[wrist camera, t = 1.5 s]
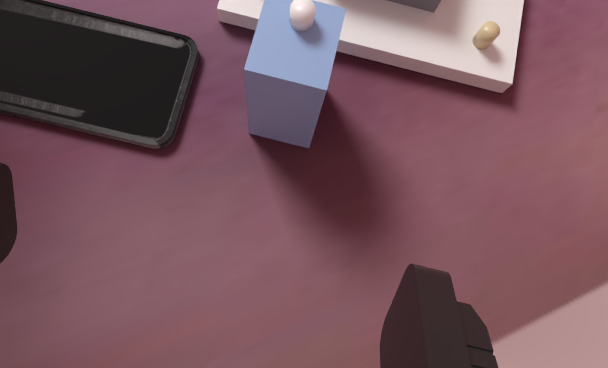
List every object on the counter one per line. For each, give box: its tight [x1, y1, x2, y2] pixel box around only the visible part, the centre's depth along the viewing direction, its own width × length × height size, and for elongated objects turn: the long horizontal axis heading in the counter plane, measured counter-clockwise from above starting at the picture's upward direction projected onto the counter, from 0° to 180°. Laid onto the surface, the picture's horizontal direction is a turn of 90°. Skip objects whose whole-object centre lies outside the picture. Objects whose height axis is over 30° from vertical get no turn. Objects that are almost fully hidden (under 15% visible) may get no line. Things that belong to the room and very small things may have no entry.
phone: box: [0, 0, 199, 149], centre depth 32 cm, size 8×1×15 cm
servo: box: [244, 0, 346, 148], centre depth 28 cm, size 4×4×10 cm
